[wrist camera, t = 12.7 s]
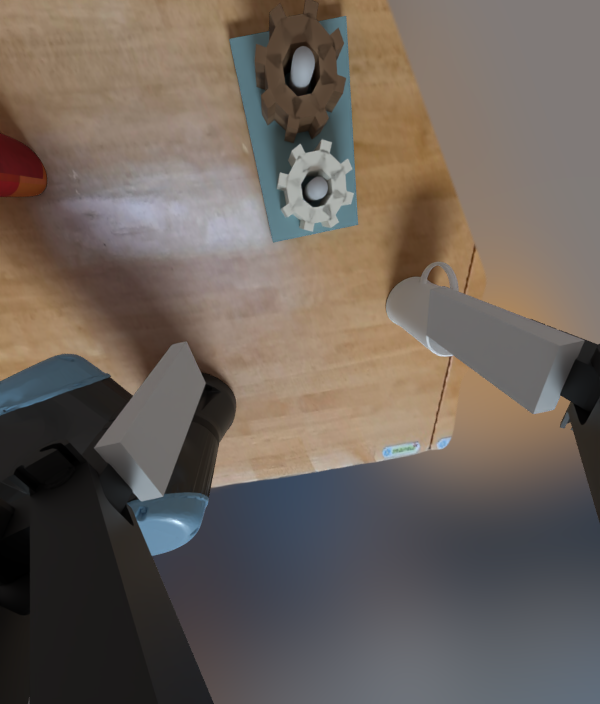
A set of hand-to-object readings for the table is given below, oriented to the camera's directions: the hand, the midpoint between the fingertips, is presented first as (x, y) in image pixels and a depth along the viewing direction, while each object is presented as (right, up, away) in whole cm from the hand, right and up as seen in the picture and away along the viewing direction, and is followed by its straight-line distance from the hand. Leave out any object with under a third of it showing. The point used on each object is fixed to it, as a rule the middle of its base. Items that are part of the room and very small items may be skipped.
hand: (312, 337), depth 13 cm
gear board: (0, +24, +17) cm, 30 cm away
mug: (+18, +9, +28) cm, 35 cm away
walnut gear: (-1, +28, +14) cm, 31 cm away
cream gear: (+1, +20, +18) cm, 27 cm away
